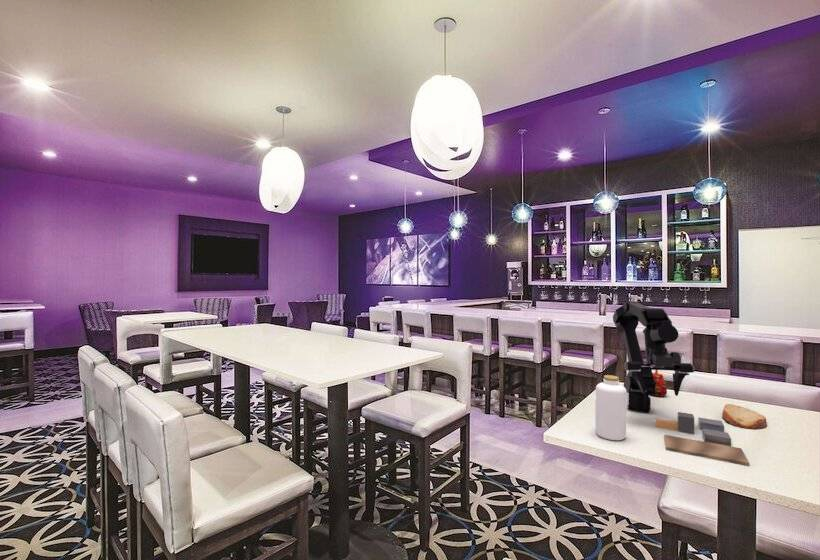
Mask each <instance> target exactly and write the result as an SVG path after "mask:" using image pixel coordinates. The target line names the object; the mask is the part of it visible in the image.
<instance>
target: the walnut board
mask: <svg viewBox="0 0 820 560" xmlns="http://www.w3.org/2000/svg"><path fill="white" fill-rule="evenodd" d="M663 438H664V446H665V450H666V451H669V452H675V453H681V454H685V455H691V456H696V457H701V458H705V457H706V458H707V459H710V458H711V460H715V461H716V460H717V461H722V462H726V463H732V464H737V465H742V466H748V467H750V461H749V459H748V457H747V456H746V454H745V452H744V451H743V449H742V448H741V447H736V446H732V445H731V446H725V445H720V444H714V443H709V442H704V440H697V439H691V438H686V437H685V438H684V437H681V436H673V435H669V434H663Z"/></svg>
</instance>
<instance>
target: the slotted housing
mask: <svg viewBox="0 0 820 560" xmlns="http://www.w3.org/2000/svg"><path fill="white" fill-rule="evenodd" d="M697 421H698V422H697V425H698V428H699V431H702V439H703V442H709V443H714V444H720V445H725V446H731V447H732V437H731V435H730V434H729V432H726V431H725V425H724V423H723V421H722V420H718V419H712V418H711V419H710V418H704V417H698V419H697Z"/></svg>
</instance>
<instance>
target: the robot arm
mask: <svg viewBox="0 0 820 560" xmlns="http://www.w3.org/2000/svg"><path fill="white" fill-rule="evenodd" d="M612 321H613V323H614V325H615V328H616V330H617V331H618V332H619V333H621V335H622V338H623V343H624V348H625V352H626V356H627V360H628V361H625V362H623V370H624V371H628V372H627V374H626V379H625V381H624V383H623V386H624V387H625V389H626V391H627V394H628V406H627V410H628V411H633V412H640V413H644V414H645V413H646V414H649V413H650V411H651V403H652V402H651V400H652V399H651V396H654V392H655V387H656V382H655V379H654V376H653V374H652V373H653V371H656V370H657V371H670V372H671V371H674V373H672V381H673V392H674V396H675V397H676V396H679V393H680V389H681V386H682V382H683V381H684V379H685V377H686V376H690V373H695V368H694V365H693V364H691V363H689V362H685V363H684V362H681V356H680V353H679V352H678V351H670V353H669V352H668V348H667V347H666V344H669V343H674V342H676V341H677V339H678V338H679V331H678V329H677V328H676V327H675V326H674V325H673V322H672V320H671V319H670V318H669V316H668V314H667V312H666V310H665V309H664V308H661V307H660V308H659V307H648V306H646V305H644V304H641V303H640V302H639V301H625V302H623V303H622V305H621V306H620V307H618V308H616V309H615V311H614V313H613V315H612ZM639 323H640V324H641V325H642V326H643V327H644V329H643V330H642V333H643V335H644V336H643V338H644V348H645V349H644V353H645V359H646V361H645V363H644V358H643V354H642V350H641V347H640V344H639V339H638V336H637V335H638V334H637V331H636V330H637V329H638V328H637V327H638V326H639ZM649 394H652V395H651V396H650V395H649Z"/></svg>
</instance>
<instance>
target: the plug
mask: <svg viewBox="0 0 820 560" xmlns="http://www.w3.org/2000/svg"><path fill="white" fill-rule="evenodd" d="M655 427H656V428H662V429H666V430H667V429H668V430H673V431H677V432H678V433H684V434H685V433H686V434H690V435H695V416H694V414H693V413H687V412H681V411H677V421H673V420H667V419H660V418H655Z"/></svg>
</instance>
